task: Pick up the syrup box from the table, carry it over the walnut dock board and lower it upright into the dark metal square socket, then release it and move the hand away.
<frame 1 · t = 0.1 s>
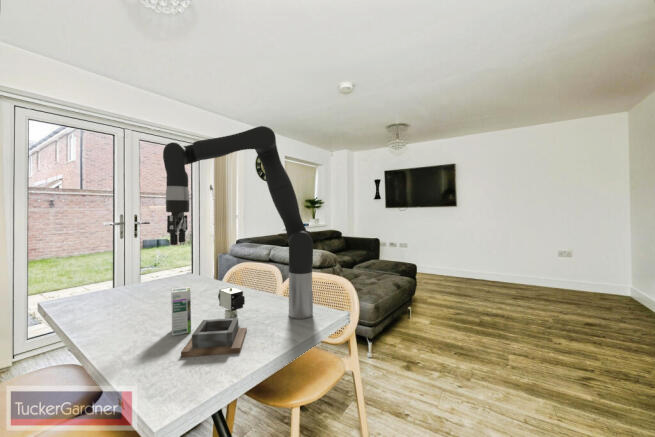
hand: (178, 243, 101), 29 cm above the table, tool pointing down, fingers open, 8 cm apart
syrup box: (181, 331, 94), on the table
pneumatic valve: (232, 319, 105), on the table
dock socket: (216, 343, 85), on the table
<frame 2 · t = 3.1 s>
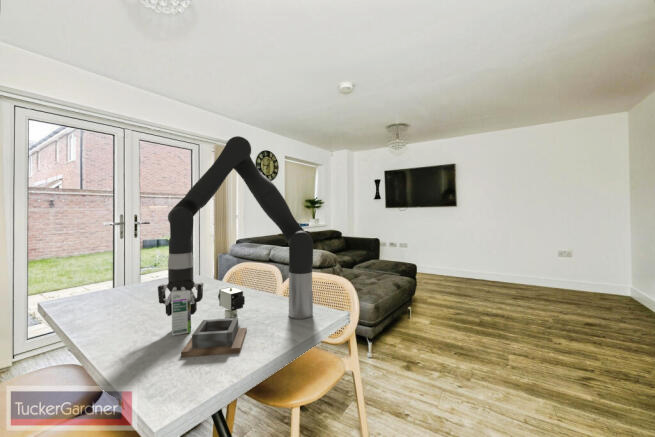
hand: (181, 314, 94), 6 cm above the table, tool pointing down, fingers closed on syrup box, 6 cm apart
syrup box: (181, 331, 94), on the table, touching gripper
everything else where it was.
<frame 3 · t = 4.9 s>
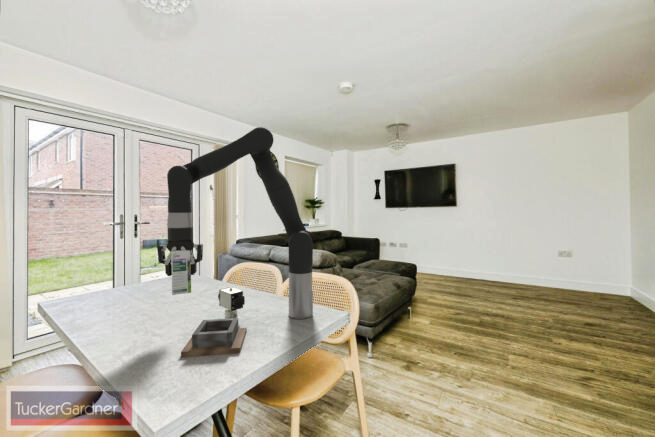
hand: (181, 275, 93), 19 cm above the table, tool pointing down, fingers closed on syrup box, 6 cm apart
syrup box: (181, 292, 93), point 13 cm above the table, touching gripper
everything else where it was.
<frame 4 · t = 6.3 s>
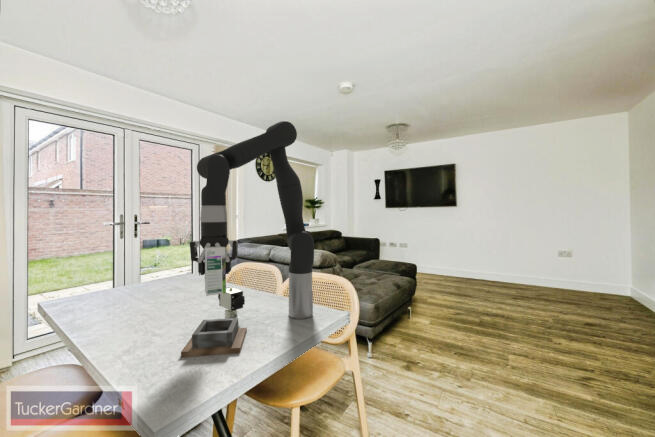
hand: (215, 273, 85), 21 cm above the table, tool pointing down, fingers closed on syrup box, 6 cm apart
syrup box: (215, 293, 86), point 15 cm above the table, touching gripper
everything else where it was.
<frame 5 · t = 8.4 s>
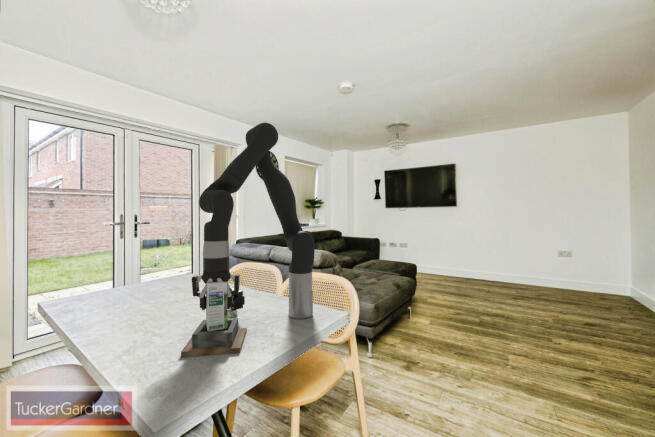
hand: (216, 308, 85), 11 cm above the table, tool pointing down, fingers closed on syrup box, 6 cm apart
syrup box: (216, 327, 85), point 5 cm above the table, touching gripper
everything else where it was.
when the fingers open (9 cm above the table, at t = 9.9 s): syrup box drops 1 cm, resting on dock socket.
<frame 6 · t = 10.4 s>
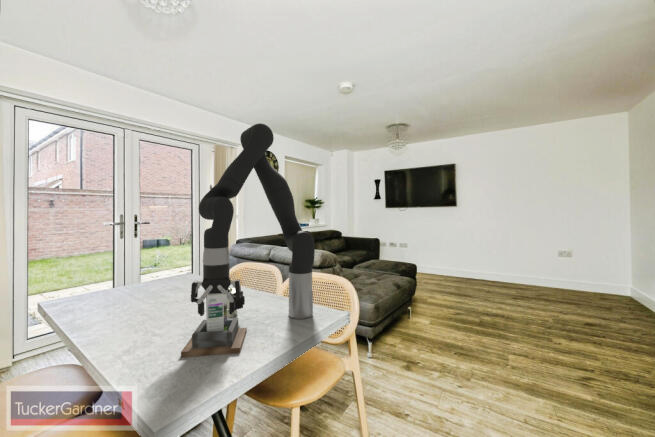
hand: (216, 314, 85), 9 cm above the table, tool pointing down, fingers open, 8 cm apart
syrup box: (216, 339, 85), point 1 cm above the table, touching dock socket
everything else where it was.
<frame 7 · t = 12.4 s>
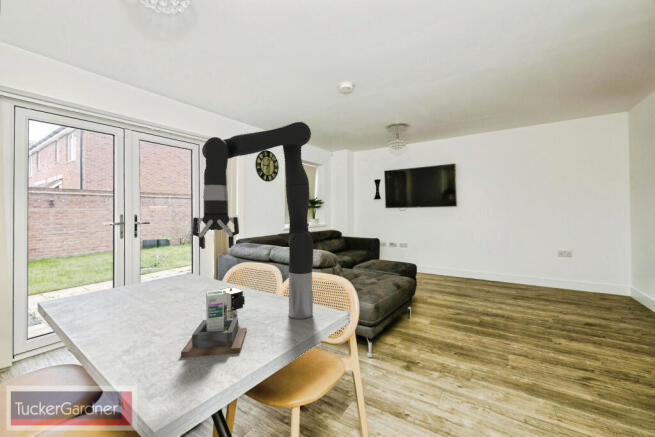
hand: (216, 248, 92), 29 cm above the table, tool pointing down, fingers open, 8 cm apart
nothing on the table moved.
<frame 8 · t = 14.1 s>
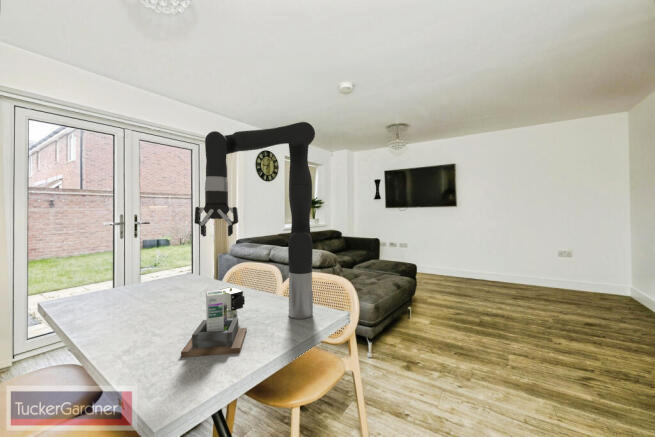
hand: (216, 236, 98), 32 cm above the table, tool pointing down, fingers open, 8 cm apart
nothing on the table moved.
at the end: syrup box 0.1 cm off-centre on the dock socket, point 1.3 cm above the dock socket's base; syrup box tilted 0°; the gripper is holding nothing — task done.
